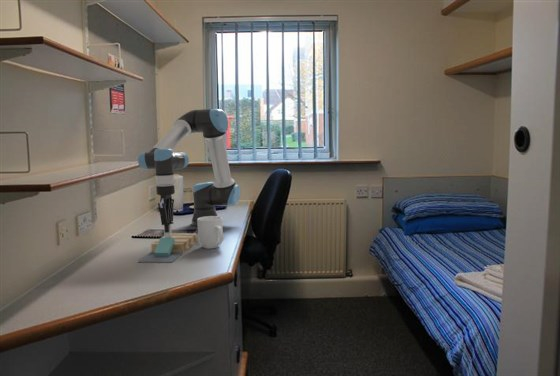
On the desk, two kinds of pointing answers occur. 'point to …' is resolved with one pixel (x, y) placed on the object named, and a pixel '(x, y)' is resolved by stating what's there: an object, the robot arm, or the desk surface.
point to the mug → (210, 231)
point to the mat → (161, 258)
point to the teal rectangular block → (164, 247)
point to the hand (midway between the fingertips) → (168, 239)
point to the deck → (179, 242)
